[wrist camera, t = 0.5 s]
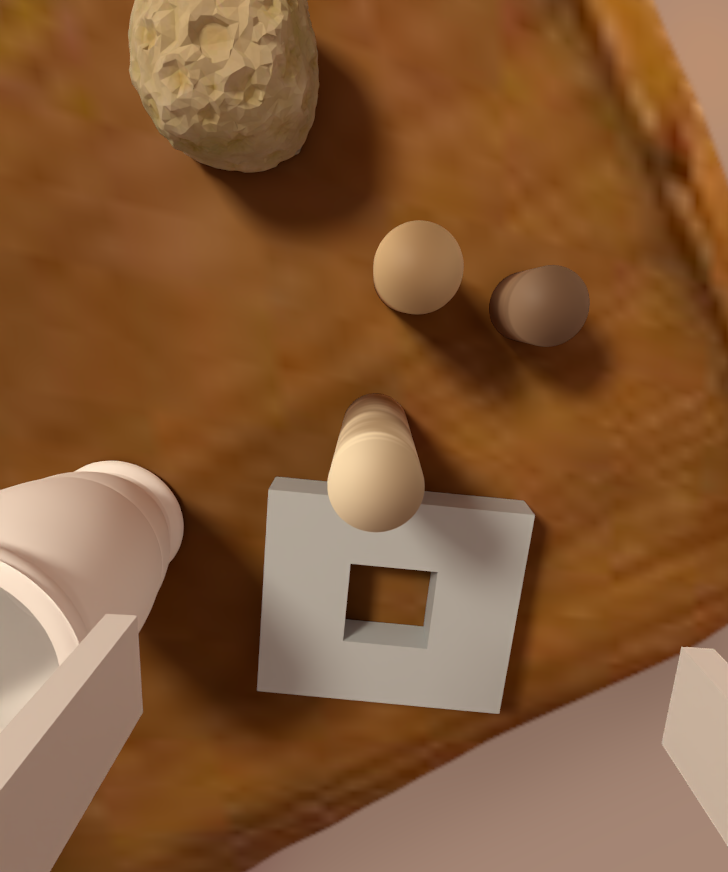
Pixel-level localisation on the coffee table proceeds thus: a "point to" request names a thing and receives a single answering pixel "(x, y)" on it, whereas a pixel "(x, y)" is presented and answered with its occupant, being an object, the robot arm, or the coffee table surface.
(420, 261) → the oak pin
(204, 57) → the decorative object
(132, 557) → the jar
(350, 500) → the birch pin
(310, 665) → the hole plate
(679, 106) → the coffee table surface
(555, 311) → the walnut pin
